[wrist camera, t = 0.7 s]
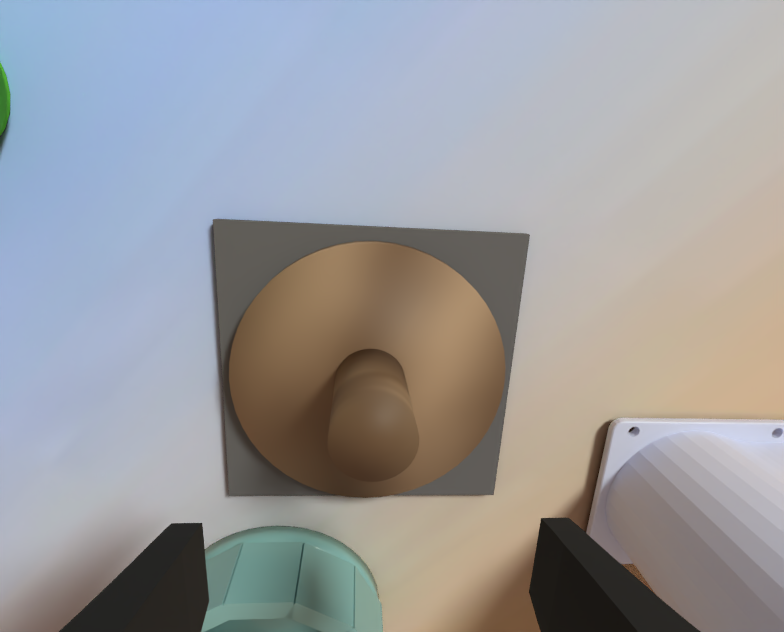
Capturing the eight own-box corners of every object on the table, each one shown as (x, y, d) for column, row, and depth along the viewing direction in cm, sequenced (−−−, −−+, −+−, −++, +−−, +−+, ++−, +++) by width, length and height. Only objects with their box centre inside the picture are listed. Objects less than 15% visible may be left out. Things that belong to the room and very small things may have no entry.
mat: (525, 233, 18) (529, 234, 17) (491, 489, 21) (493, 494, 21) (216, 218, 17) (212, 219, 16) (231, 489, 20) (228, 495, 20)
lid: (515, 247, 17) (577, 271, 12) (484, 485, 20) (524, 582, 16) (227, 234, 17) (171, 255, 12) (240, 485, 20) (199, 588, 15)
